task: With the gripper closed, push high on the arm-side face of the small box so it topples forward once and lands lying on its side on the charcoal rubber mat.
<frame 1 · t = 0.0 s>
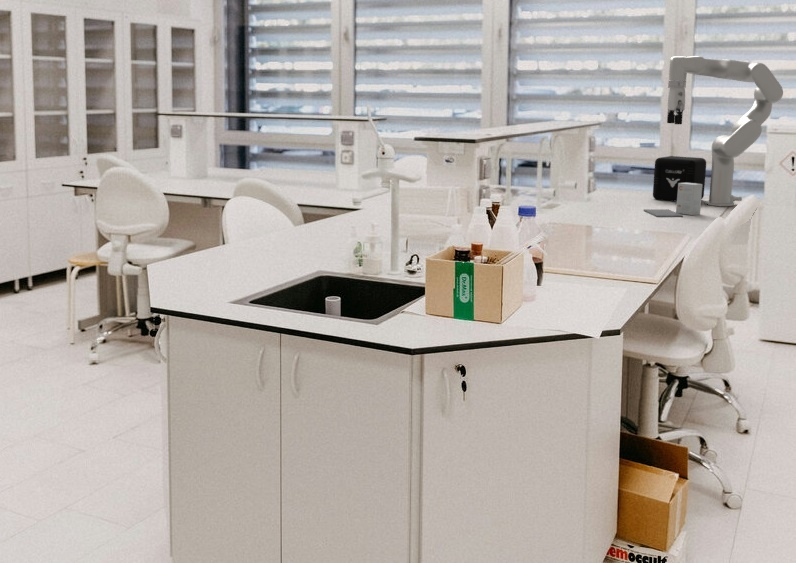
hand: (674, 123, 412), 37 cm above the worktop, tool pointing down, fingers open, 9 cm apart
small box: (687, 214, 393), on the worktop
air purifier: (676, 200, 437), on the worktop
rubber mat: (662, 213, 392), on the worktop
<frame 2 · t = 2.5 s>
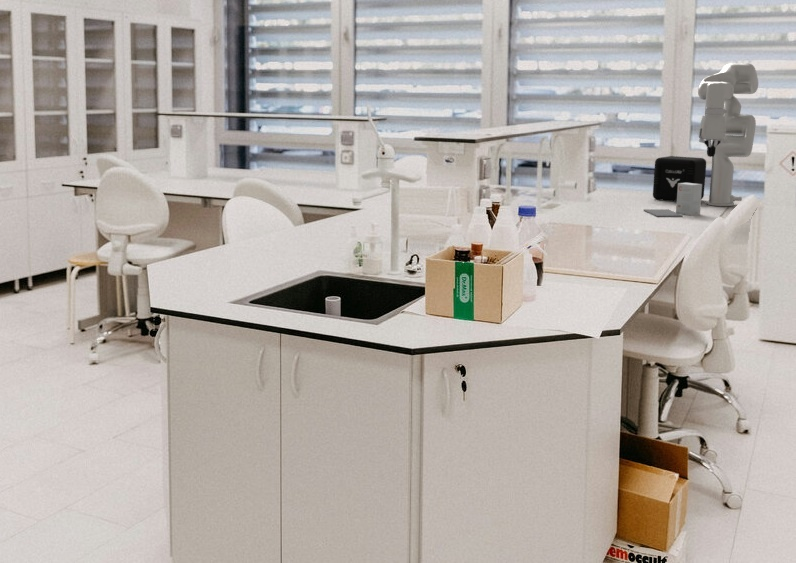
hand: (710, 156, 388), 25 cm above the worktop, tool pointing down, fingers closed
nothing on the worktop moved.
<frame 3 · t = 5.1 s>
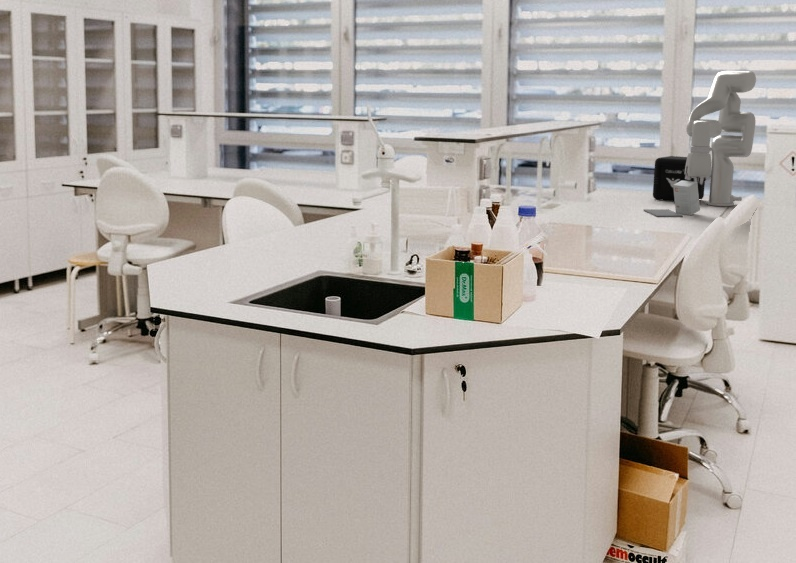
hand: (696, 193, 391), 9 cm above the worktop, tool pointing down, fingers closed
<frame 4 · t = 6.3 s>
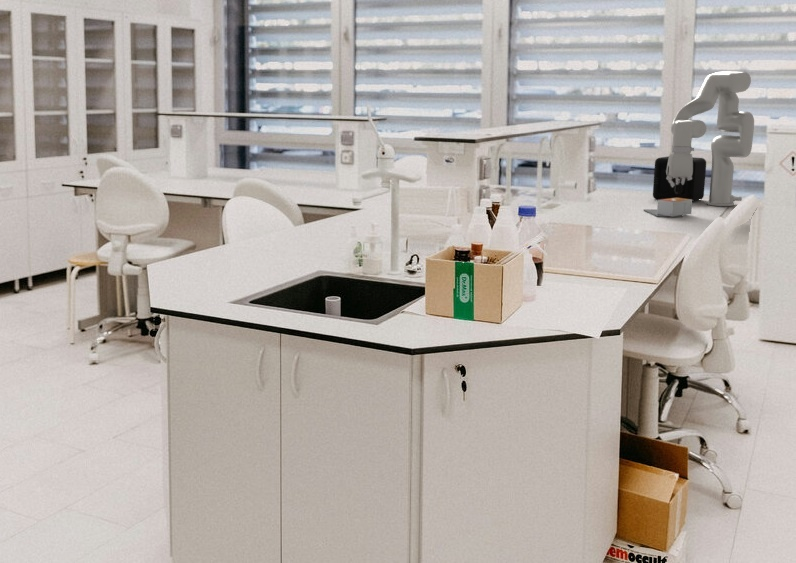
hand: (678, 193, 391), 9 cm above the worktop, tool pointing down, fingers closed
small box: (684, 205, 390), point 4 cm above the worktop, touching rubber mat
everything else where it was.
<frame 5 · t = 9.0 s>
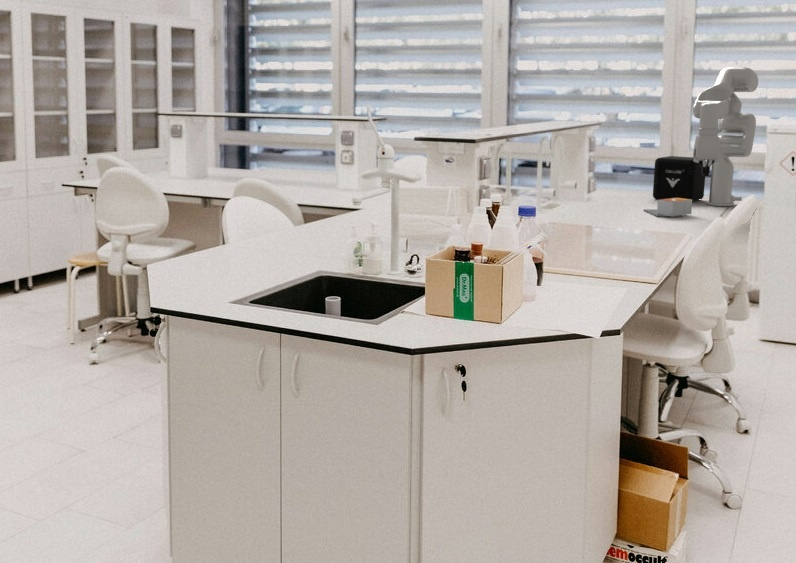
hand: (705, 175, 390), 16 cm above the worktop, tool pointing down, fingers closed
nothing on the worktop moved.
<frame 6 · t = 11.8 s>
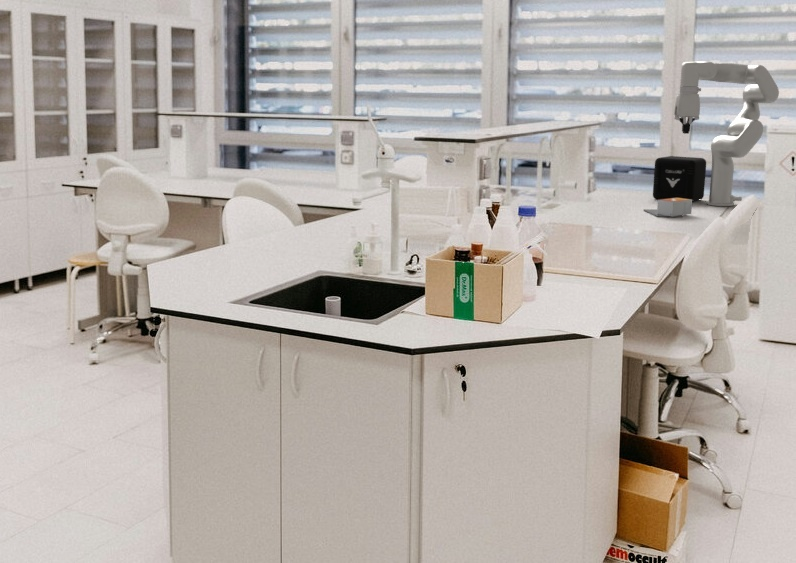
hand: (685, 133, 403), 33 cm above the worktop, tool pointing down, fingers closed
nothing on the worktop moved.
at the end: small box tilted 90°; small box touching rubber mat; small box inside the target area (4.9 cm from its centre), point 3.8 cm above the worktop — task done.
